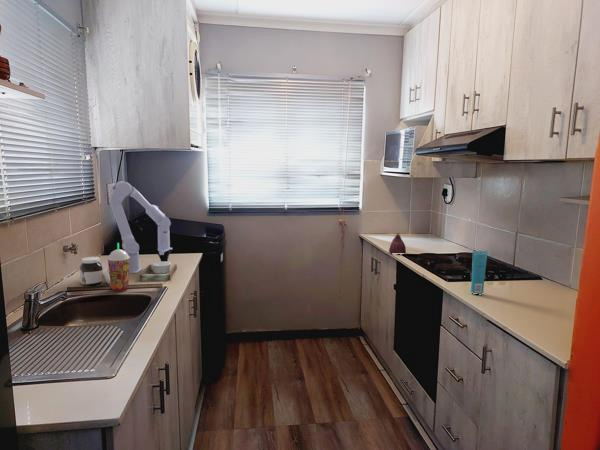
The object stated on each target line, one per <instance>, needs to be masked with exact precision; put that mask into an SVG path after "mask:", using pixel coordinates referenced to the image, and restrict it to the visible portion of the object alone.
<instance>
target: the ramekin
mask: <svg viewBox="0 0 600 450" xmlns="http://www.w3.org/2000/svg"><path fill="white" fill-rule="evenodd" d="M151 265H152V273H154V274H168V273H169V272H170V270H171V265H172V264H171V262H170V261H168V262H166V261H161V260H160V261H154V262H152V263H151Z"/></svg>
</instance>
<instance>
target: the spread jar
mask: <svg viewBox="0 0 600 450" xmlns="http://www.w3.org/2000/svg"><path fill="white" fill-rule="evenodd" d="M79 279H80V283H81V285H82V286H83V287H85V286H93V287H98V286H100V285H101V284H103V282H104V279H105V281H106V283H107V284H108V285H111V283H110V274H109V270H107V268H103V265H102V263H101V262H100V257H99V256H88V257H83V258H81V264H80V265H79ZM97 285H98V286H97Z"/></svg>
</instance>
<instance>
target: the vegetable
mask: <svg viewBox="0 0 600 450" xmlns="http://www.w3.org/2000/svg"><path fill="white" fill-rule="evenodd" d="M406 249H407V248H406V244H405V242H404V241H403V239H402V238H401V235H400V234H399V233H396V235H395V236H394V237H393V239H392V241H391V244H390V247H389V250H388V253H389V252H390V253H407V250H406ZM390 253H389V254H390Z"/></svg>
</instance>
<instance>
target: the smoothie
mask: <svg viewBox="0 0 600 450" xmlns="http://www.w3.org/2000/svg"><path fill="white" fill-rule="evenodd" d="M116 243H117V244H116V245H117V246H116V247H117V248H116V249H114V250H113V251H111V252H110V254H109V256H108V257H107V264H108V273H109V275H110V288H111V289H112V291H113V292H118V293H119V292H124V291H127V290H128V287H129V284H130V273H129V261H130V259H129V258H130V257H129V256H128V254H127V253H126V252H125V251H124V249H120V242H116Z"/></svg>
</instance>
